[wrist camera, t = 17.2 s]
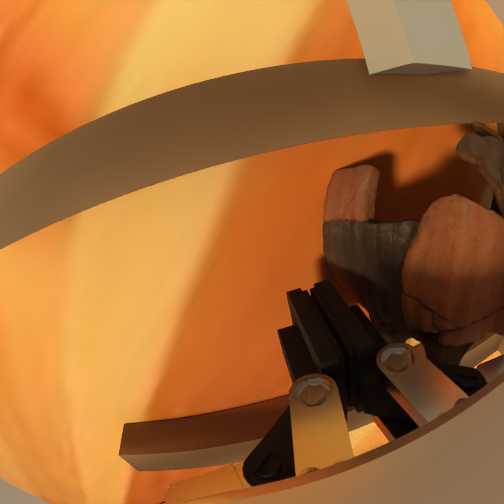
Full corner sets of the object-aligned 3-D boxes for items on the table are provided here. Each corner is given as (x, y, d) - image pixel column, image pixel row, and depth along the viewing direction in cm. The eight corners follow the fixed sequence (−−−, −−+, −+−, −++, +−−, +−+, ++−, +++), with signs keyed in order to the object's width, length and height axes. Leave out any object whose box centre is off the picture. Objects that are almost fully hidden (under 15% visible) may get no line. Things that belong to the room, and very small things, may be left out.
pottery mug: (319, 94, 10) (532, 76, 4) (411, 161, 16) (531, 171, 9) (275, 387, 11) (447, 485, 5) (380, 345, 17) (490, 385, 11)
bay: (496, 320, 17) (528, 349, 13) (141, 442, 16) (136, 494, 12) (508, 82, 10) (562, 86, 5) (-10, 193, 9) (-74, 223, 5)
